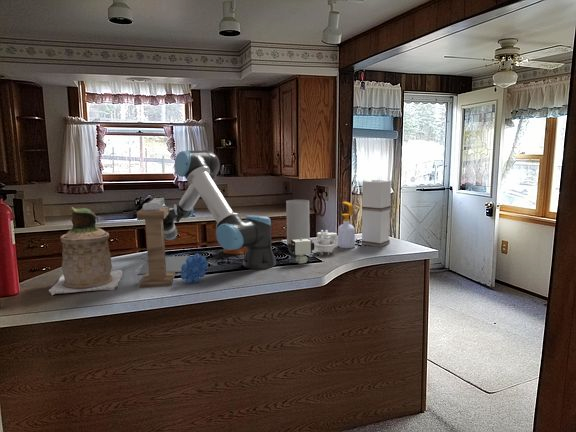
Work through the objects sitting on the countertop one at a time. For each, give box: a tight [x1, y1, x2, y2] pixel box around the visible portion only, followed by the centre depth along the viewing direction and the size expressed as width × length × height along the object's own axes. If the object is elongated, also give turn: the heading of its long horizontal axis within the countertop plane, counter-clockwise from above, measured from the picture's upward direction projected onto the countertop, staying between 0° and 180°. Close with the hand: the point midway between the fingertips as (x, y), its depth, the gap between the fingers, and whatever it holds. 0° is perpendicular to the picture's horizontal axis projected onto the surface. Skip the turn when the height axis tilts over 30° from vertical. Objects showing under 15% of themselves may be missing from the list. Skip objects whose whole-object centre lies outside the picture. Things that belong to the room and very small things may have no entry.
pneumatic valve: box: [287, 238, 316, 265], centre depth 197 cm, size 6×12×12 cm, turn 109°
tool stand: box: [136, 205, 176, 288], centre depth 172 cm, size 16×12×30 cm
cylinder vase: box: [285, 199, 311, 247], centre depth 230 cm, size 12×12×25 cm
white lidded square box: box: [361, 179, 392, 248], centre depth 232 cm, size 11×11×35 cm
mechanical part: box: [314, 229, 338, 256], centre depth 214 cm, size 11×12×12 cm
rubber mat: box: [137, 255, 191, 276], centre depth 198 cm, size 28×20×1 cm
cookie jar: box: [48, 207, 123, 296], centre depth 170 cm, size 25×25×32 cm
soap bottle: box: [337, 200, 356, 249], centre depth 227 cm, size 9×9×25 cm
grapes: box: [180, 253, 209, 284], centre depth 171 cm, size 12×7×12 cm, turn 124°
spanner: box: [142, 197, 165, 211], centre depth 176 cm, size 22×6×2 cm, turn 9°
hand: (159, 207), depth 188 cm, fingers open, 13 cm apart
